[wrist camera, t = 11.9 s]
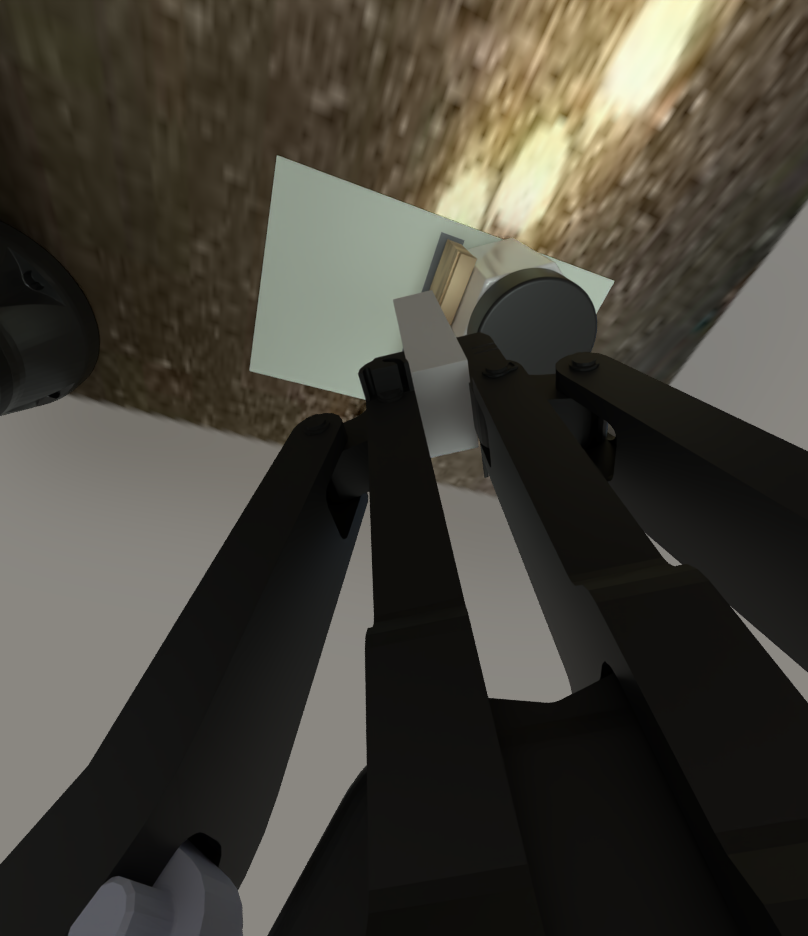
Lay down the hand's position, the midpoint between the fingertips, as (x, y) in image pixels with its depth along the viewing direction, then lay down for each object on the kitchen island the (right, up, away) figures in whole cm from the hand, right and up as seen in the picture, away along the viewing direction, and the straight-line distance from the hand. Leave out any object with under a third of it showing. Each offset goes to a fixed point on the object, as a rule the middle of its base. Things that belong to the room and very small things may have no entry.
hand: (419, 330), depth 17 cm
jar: (+7, +10, +21) cm, 24 cm away
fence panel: (+2, +8, +21) cm, 23 cm away
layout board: (+1, +7, +23) cm, 24 cm away
